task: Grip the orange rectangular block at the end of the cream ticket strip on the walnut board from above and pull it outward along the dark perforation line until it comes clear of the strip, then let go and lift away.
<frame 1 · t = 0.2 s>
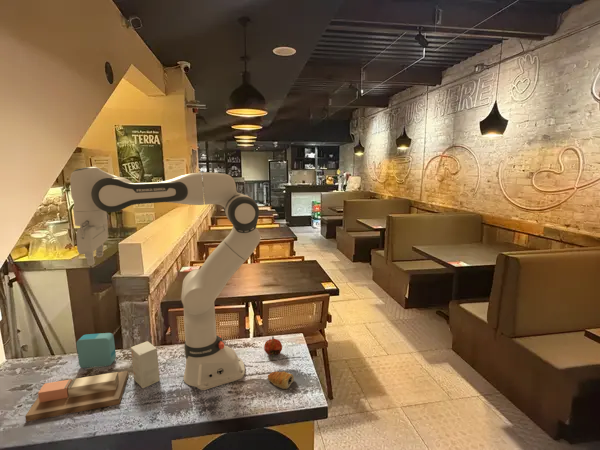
hand: (95, 260, 109), 47 cm above the table, tool pointing down, fingers open, 8 cm apart
pastry: (281, 383, 122), on the table
data package: (98, 364, 134), on the table
orange rectangular block: (56, 390, 113), point 4 cm above the table, slide at 0.0 cm
pomegranate: (273, 355, 139), on the table
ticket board: (82, 396, 115), on the table
small box: (147, 380, 124), on the table
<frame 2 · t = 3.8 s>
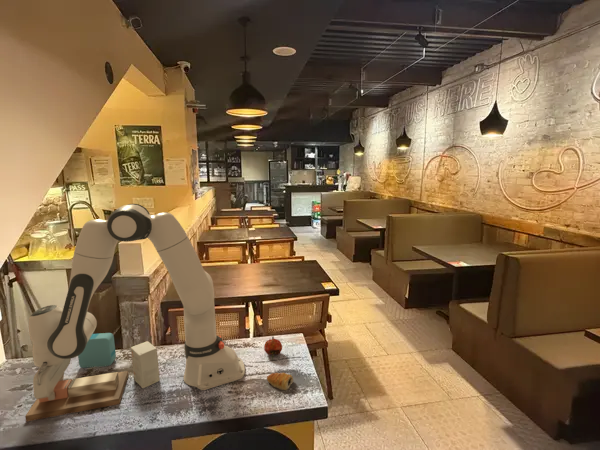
hand: (56, 392, 113), 3 cm above the table, tool pointing down, fingers closed on orange rectangular block, 5 cm apart
orange rectangular block: (56, 390, 113), point 4 cm above the table, slide at 0.0 cm, touching gripper
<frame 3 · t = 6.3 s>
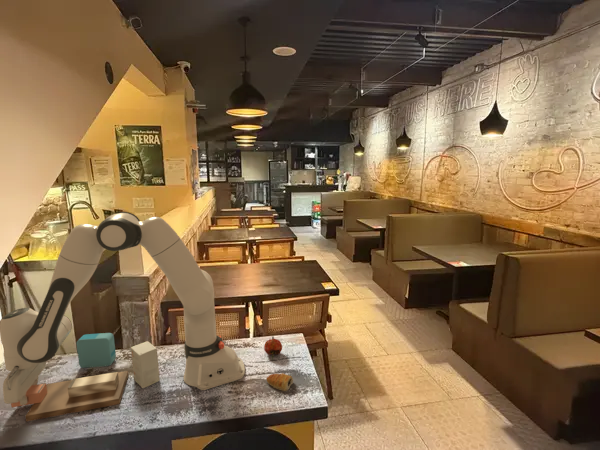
hand: (29, 396, 111), 3 cm above the table, tool pointing down, fingers closed on orange rectangular block, 5 cm apart
orange rectangular block: (29, 394, 110), point 4 cm above the table, slide at 7.5 cm, touching gripper
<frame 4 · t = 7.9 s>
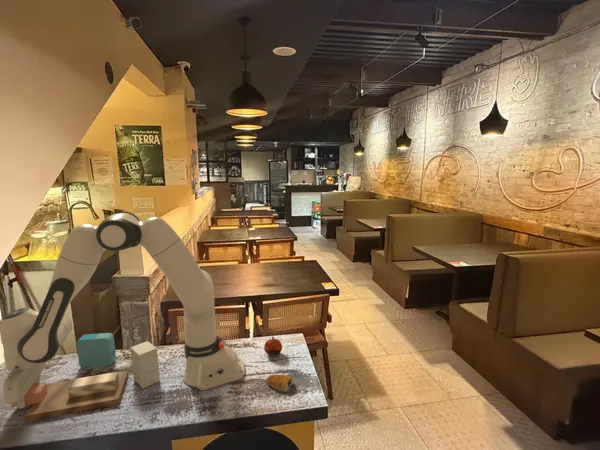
hand: (29, 397, 111), 3 cm above the table, tool pointing down, fingers open, 8 cm apart
orange rectangular block: (29, 394, 110), point 4 cm above the table, slide at 7.6 cm
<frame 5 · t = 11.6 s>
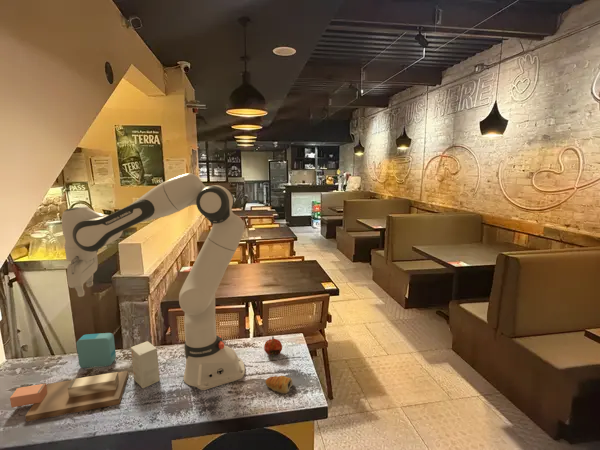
hand: (85, 291, 119), 34 cm above the table, tool pointing down, fingers open, 8 cm apart
at the end: orange rectangular block slide at 7.6 cm; the gripper is holding nothing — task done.
